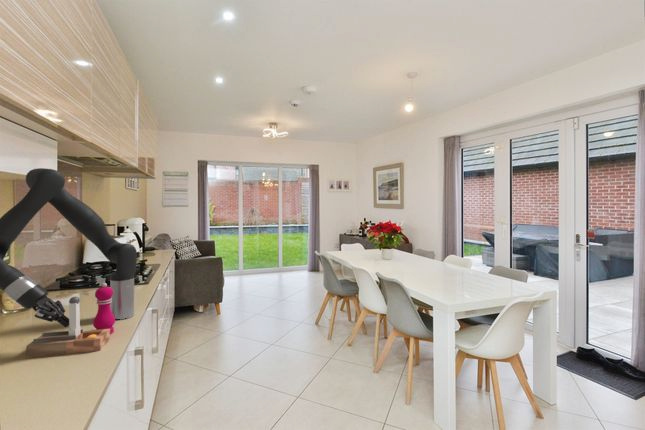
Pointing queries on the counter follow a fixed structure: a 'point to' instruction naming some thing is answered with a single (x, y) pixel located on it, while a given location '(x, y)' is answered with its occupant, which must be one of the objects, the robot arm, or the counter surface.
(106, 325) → the pepper mill
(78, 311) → the launcher plunger
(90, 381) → the counter surface
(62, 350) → the launcher track
